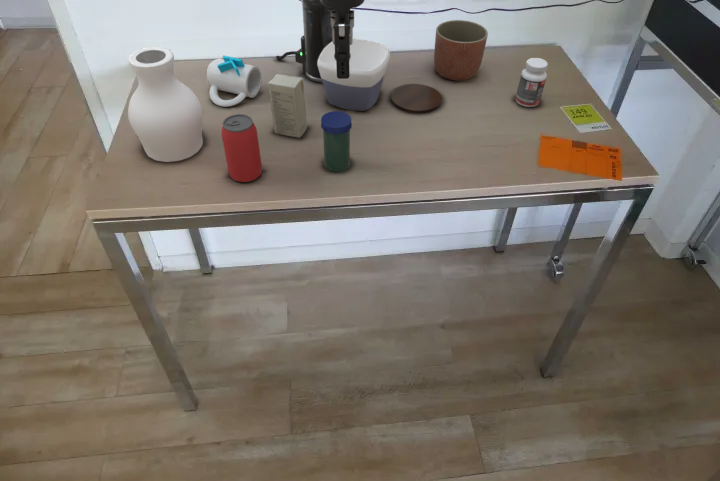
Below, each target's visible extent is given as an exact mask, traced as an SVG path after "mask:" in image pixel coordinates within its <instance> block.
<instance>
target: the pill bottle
mask: <svg viewBox="0 0 720 481" xmlns="http://www.w3.org/2000/svg"><path fill="white" fill-rule="evenodd" d="M547 70H548V62H547V60H545V59H543V58H540V57H531V58H528V59H527V60H526V63H525V68H524V69H522V71H521V72H520V73H521V74H520V78H519V81H518V86H517V89H516V90H517V91H516V94H515V101H516V103H517V104H518V105H520V106H522V107H525V108H534V107H537V106H538V105H539V104H540V102H541V100H542V95H543V93H544V92H543V91H544V89H545V84H546V81H547V77H548V74H547V72H546V71H547Z"/></svg>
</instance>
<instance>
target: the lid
mask: <svg viewBox="0 0 720 481" xmlns="http://www.w3.org/2000/svg"><path fill="white" fill-rule="evenodd" d="M352 120H353V119H352V116H351V115H350V114H349V113H348V112H345V111H340V110H332V111H328V112H325V113H324V114H323V115H322V116H321V119H320V128H321V129H322V131H323V130H324V131H325V132H327V133H330V134H343V133H346V132H348V131H349V130H350V131H351V129H352V127H353V126H352V125H353V123H352Z"/></svg>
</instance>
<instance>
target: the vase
mask: <svg viewBox="0 0 720 481" xmlns="http://www.w3.org/2000/svg"><path fill="white" fill-rule="evenodd" d="M127 61H128V64H129V67H130V69H131V70H132V72H134V74H135V76H136V77H137V80H138V85H137V87H136V89H135V91H134V92H133V94H132V96H131V97H130V99H129V103H128V109H127V117H128V122H129V124H130V126H131V128H132V130H133V132H134V133H135V135H136V137H137V138H138V139H139V141H140V143H141V145H142V147H143V149H144V152H145V153H146V155H147V157H149V158H151V159H152V160H154V161H157V162H162V163H163V162H164V163H172V162H180V161H183V160H186V159H189V158H191V157H192V156H194V155H195V154H197V153H198V152H199V151H200V150H201V149H202V147H203V144H204V142H203V141H204V140H203V139H204V138H203V134H202V133H203V109H202V104H201V102H200V99H199V98H198V96H197V95H196V94H195V93H194V92H193V90H192V89H191V88H190V87H189V86H187V85H185V84H184V83H183V82H181V81H180V80H178V79H177V78H176V75H175V73H174V66H175V55H174V53H173V51H172V50H171V49H169V48H167V47H164V46H163V47H162V46H147V47H143V48H140V49H138V50H135V51H133V52H132V53H131V54H130V55H129V56H128V60H127Z"/></svg>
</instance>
